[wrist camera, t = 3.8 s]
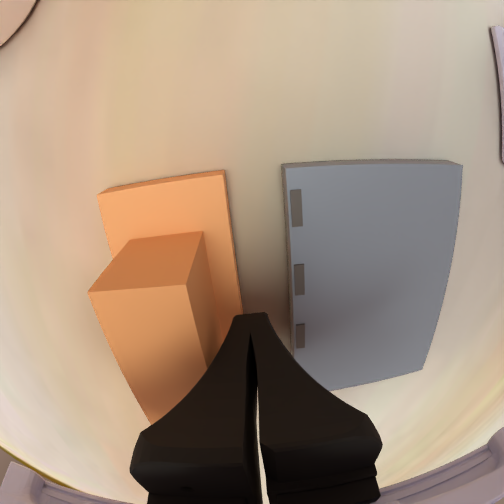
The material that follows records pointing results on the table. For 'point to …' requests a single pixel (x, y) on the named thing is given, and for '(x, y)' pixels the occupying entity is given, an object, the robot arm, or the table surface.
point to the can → (13, 16)
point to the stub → (167, 283)
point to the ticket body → (367, 263)
